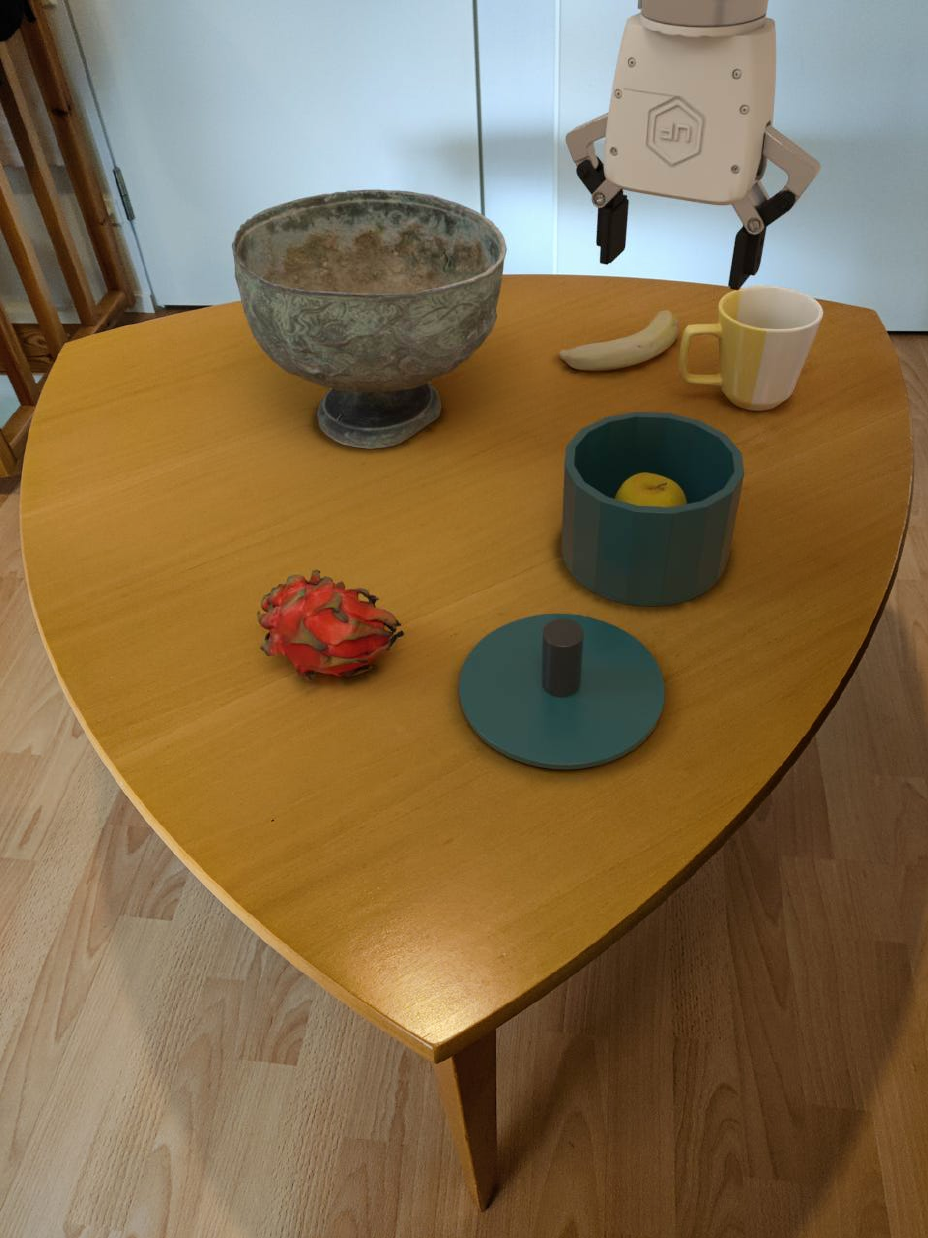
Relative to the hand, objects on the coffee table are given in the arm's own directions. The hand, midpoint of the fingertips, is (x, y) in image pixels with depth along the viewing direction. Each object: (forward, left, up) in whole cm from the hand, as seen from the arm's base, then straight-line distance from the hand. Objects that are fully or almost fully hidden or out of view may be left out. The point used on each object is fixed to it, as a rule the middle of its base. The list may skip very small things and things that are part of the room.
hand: (674, 269), depth 72 cm
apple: (0, 0, -26) cm, 26 cm away
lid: (-1, +19, -26) cm, 32 cm away
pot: (0, 0, -26) cm, 26 cm away
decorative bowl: (+34, -9, -26) cm, 44 cm away
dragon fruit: (+17, +24, -26) cm, 40 cm away
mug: (+1, -29, -26) cm, 39 cm away
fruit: (+16, -33, -26) cm, 45 cm away
